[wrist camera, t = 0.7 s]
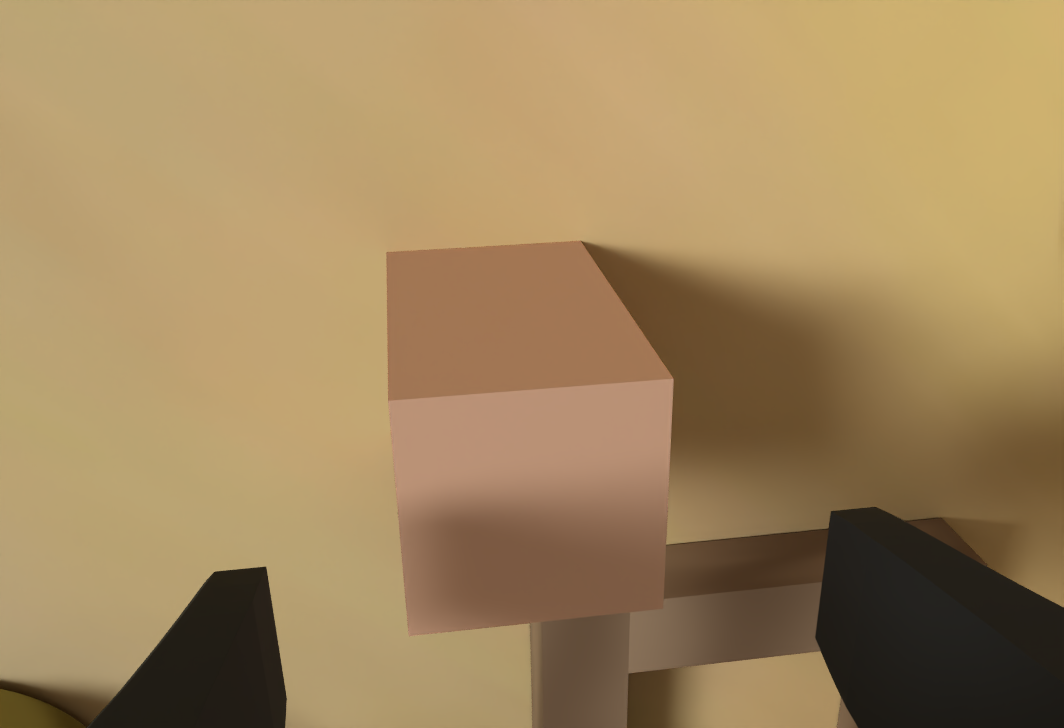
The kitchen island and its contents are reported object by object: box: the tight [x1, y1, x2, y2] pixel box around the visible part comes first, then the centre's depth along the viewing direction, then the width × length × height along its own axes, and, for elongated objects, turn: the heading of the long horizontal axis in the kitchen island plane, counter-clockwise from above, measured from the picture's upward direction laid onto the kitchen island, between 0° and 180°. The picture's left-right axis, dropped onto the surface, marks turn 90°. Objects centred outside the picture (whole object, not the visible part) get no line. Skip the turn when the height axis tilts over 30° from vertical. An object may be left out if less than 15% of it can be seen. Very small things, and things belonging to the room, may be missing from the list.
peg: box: [386, 241, 674, 636], centre depth 17 cm, size 4×4×7 cm
